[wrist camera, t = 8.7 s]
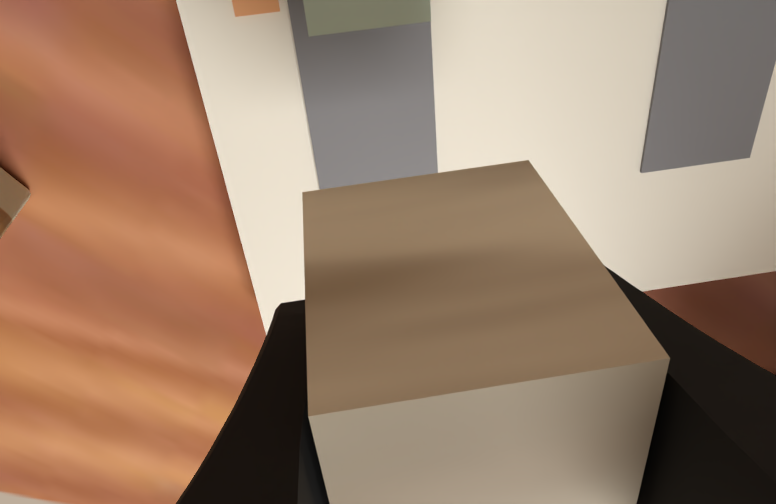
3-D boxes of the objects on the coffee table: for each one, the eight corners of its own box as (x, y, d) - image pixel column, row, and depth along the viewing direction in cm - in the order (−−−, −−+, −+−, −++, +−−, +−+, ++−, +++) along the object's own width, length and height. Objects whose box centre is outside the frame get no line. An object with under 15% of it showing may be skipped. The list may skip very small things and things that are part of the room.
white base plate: (756, 244, 22) (786, 271, 20) (271, 317, 21) (269, 350, 20) (914, -277, 14) (980, -288, 12) (138, -196, 13) (121, -198, 12)
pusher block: (521, 329, 13) (624, 554, 9) (334, 359, 13) (354, 602, 9) (528, 160, 11) (669, 358, 7) (302, 192, 11) (308, 416, 7)
